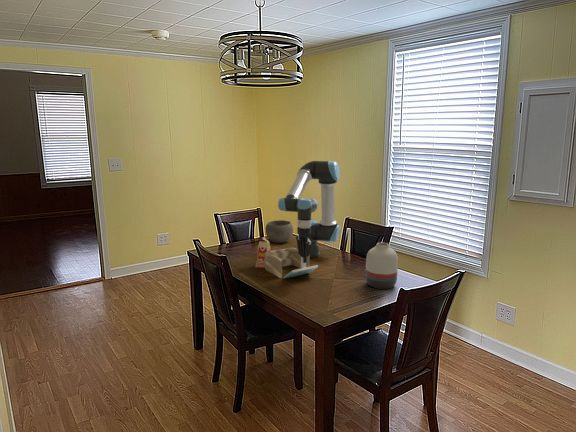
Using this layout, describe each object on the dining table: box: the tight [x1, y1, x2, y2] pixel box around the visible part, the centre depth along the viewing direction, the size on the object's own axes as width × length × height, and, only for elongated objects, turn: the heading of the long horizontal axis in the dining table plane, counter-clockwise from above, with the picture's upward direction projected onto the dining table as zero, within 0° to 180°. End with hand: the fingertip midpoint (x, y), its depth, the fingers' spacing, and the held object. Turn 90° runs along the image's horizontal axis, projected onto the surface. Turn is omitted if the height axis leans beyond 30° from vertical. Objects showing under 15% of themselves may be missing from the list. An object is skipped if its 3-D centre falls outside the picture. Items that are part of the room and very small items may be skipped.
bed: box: [264, 247, 311, 279], centre depth 255 cm, size 20×18×12 cm
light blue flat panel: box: [281, 264, 319, 279], centre depth 243 cm, size 18×1×13 cm
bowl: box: [265, 219, 294, 244], centre depth 323 cm, size 21×21×15 cm
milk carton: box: [255, 236, 272, 269], centre depth 264 cm, size 9×9×20 cm
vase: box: [365, 241, 399, 290], centre depth 233 cm, size 17×17×24 cm
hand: (303, 267), depth 239 cm, fingers closed
